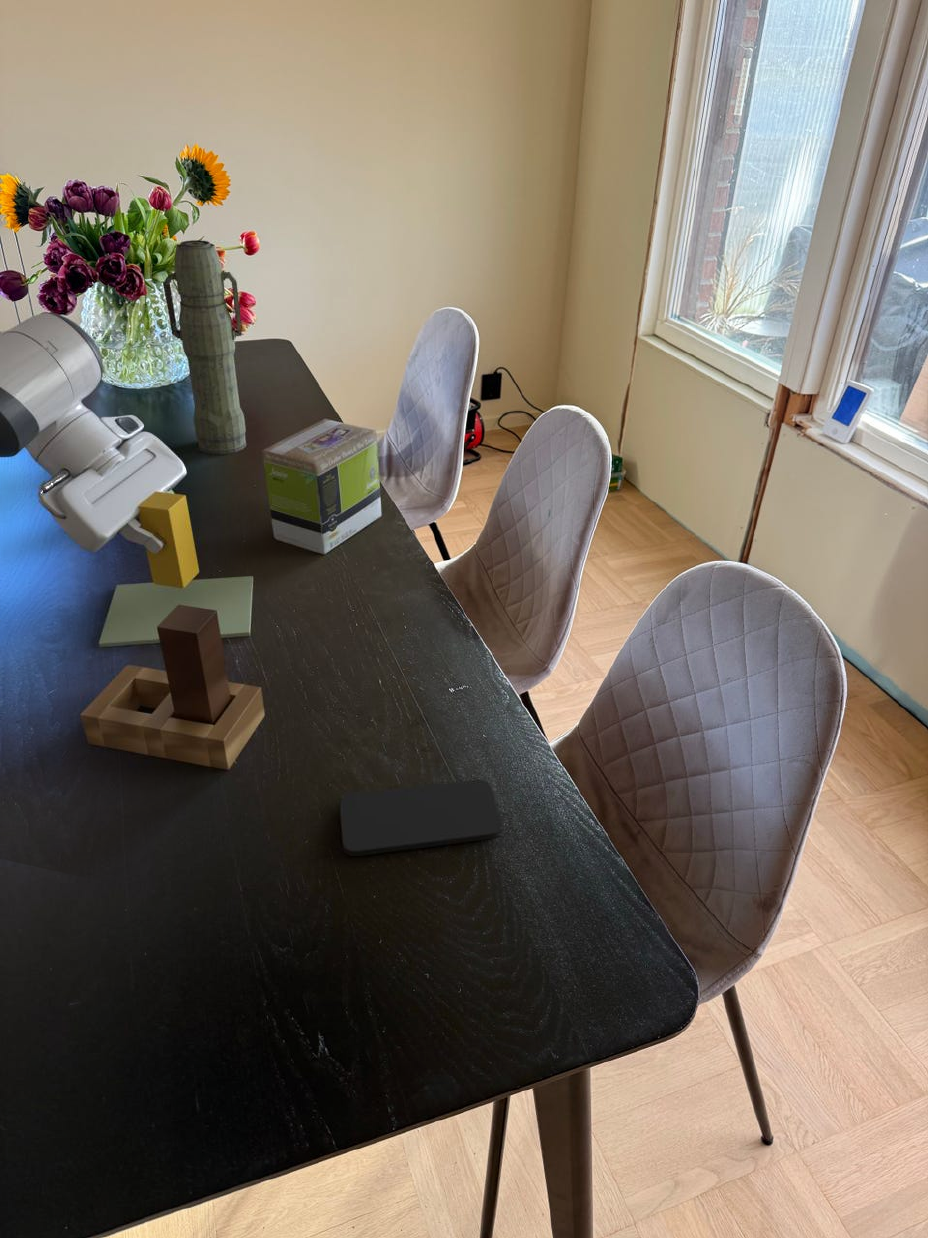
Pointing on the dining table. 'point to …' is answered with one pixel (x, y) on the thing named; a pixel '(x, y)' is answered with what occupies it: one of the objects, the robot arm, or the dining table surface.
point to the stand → (169, 721)
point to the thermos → (208, 344)
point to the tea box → (323, 484)
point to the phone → (418, 817)
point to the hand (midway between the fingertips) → (173, 537)
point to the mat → (151, 603)
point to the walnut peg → (195, 664)
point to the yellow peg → (170, 539)
